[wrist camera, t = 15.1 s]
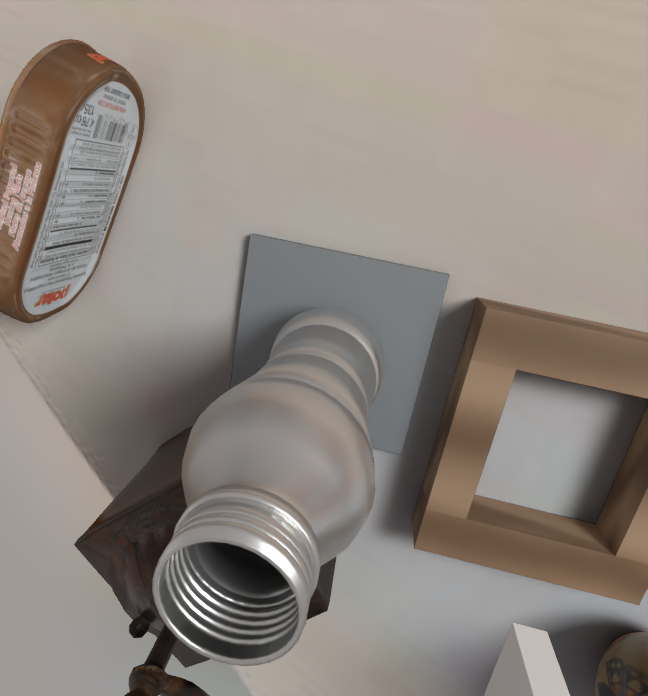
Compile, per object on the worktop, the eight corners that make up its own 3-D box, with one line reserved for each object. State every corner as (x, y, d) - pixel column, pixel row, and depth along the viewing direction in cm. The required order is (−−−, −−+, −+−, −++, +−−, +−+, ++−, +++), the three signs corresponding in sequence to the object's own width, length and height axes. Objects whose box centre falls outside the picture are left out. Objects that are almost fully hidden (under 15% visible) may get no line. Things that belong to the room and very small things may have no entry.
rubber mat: (400, 449, 32) (401, 454, 31) (229, 409, 33) (226, 412, 32) (448, 274, 28) (449, 275, 27) (253, 233, 29) (250, 234, 28)
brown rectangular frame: (617, 569, 32) (638, 605, 29) (412, 518, 33) (414, 548, 30) (722, 348, 27) (760, 365, 24) (477, 297, 28) (486, 307, 25)
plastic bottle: (329, 418, 31) (231, 751, 12) (260, 341, 30) (37, 570, 11) (407, 359, 29) (436, 643, 10) (336, 276, 28) (222, 416, 9)
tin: (124, 63, 27) (12, 4, 19) (172, 90, 27) (80, 42, 19) (51, 290, 32) (-63, 318, 24) (92, 312, 32) (-8, 348, 24)
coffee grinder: (143, 454, 34) (-101, 717, 18) (262, 382, 31) (99, 624, 14) (269, 603, 37) (162, 949, 21) (389, 553, 34) (378, 918, 17)
